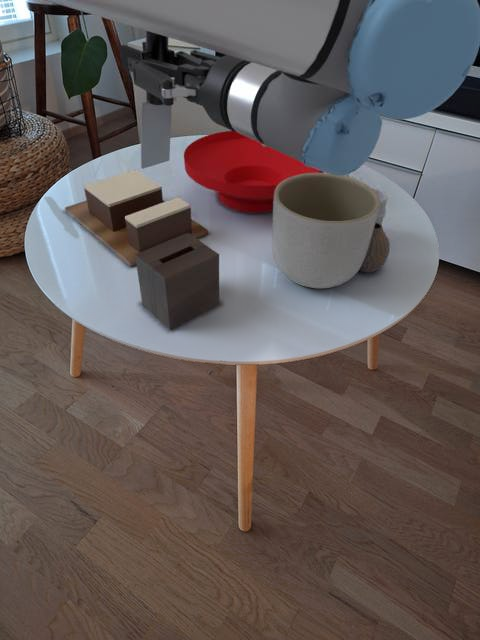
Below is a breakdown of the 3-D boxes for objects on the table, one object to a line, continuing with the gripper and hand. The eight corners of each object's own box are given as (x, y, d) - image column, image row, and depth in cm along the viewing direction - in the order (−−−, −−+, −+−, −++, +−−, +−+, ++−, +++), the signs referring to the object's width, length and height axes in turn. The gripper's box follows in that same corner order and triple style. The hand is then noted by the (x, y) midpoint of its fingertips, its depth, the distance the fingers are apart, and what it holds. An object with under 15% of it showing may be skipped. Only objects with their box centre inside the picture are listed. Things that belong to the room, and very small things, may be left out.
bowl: (316, 238, 93) (324, 192, 86) (170, 222, 96) (166, 177, 89) (320, 174, 116) (327, 133, 109) (202, 162, 119) (201, 122, 112)
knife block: (219, 303, 77) (219, 254, 71) (170, 330, 72) (165, 279, 66) (190, 281, 82) (187, 232, 75) (142, 304, 77) (134, 254, 70)
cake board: (208, 234, 93) (207, 229, 93) (130, 267, 84) (130, 262, 84) (138, 187, 107) (137, 183, 107) (65, 211, 98) (64, 207, 98)
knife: (173, 164, 73) (180, 30, 58) (146, 173, 70) (146, 35, 56) (163, 155, 74) (167, 22, 59) (136, 163, 71) (133, 26, 57)
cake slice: (192, 232, 92) (190, 204, 88) (140, 253, 86) (136, 225, 82) (180, 223, 94) (178, 196, 90) (128, 244, 88) (124, 216, 84)
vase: (360, 251, 90) (369, 211, 84) (391, 266, 87) (403, 225, 81) (339, 266, 86) (347, 225, 81) (370, 282, 83) (381, 240, 77)
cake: (164, 213, 97) (161, 186, 93) (113, 232, 91) (108, 204, 87) (138, 195, 103) (135, 169, 99) (89, 212, 97) (83, 185, 92)
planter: (305, 236, 94) (315, 163, 83) (379, 271, 85) (400, 195, 75) (249, 271, 84) (252, 195, 74) (326, 315, 76) (341, 235, 66)
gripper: (193, 149, 49) (87, 94, 62) (295, 118, 57) (182, 75, 70) (190, 72, 44) (75, 29, 57) (302, 50, 52) (180, 16, 65)
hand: (134, 54), depth 64 cm, fingers closed on knife, 3 cm apart
